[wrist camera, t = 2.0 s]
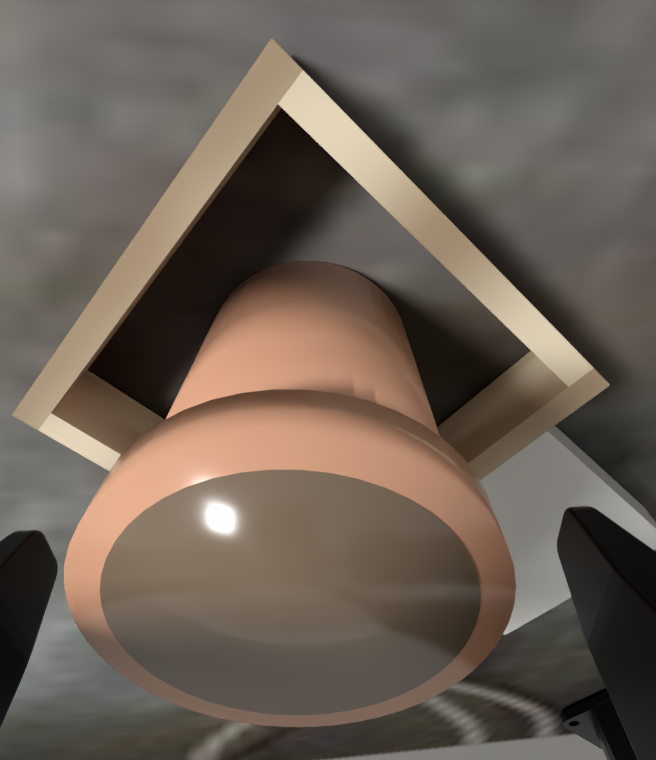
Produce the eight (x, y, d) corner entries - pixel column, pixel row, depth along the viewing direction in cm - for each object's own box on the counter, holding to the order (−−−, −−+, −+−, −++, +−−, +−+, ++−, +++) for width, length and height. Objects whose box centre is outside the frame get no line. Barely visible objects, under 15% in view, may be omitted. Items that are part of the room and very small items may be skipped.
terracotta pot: (469, 349, 14) (609, 604, 7) (319, 479, 16) (314, 765, 9) (294, 190, 12) (249, 330, 5) (151, 366, 14) (-17, 628, 7)
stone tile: (643, 506, 17) (670, 541, 16) (493, 598, 19) (505, 634, 18) (526, 400, 15) (545, 429, 14) (373, 518, 17) (377, 553, 16)
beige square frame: (571, 344, 14) (610, 384, 12) (324, 540, 18) (324, 594, 16) (281, 47, 10) (271, 37, 9) (53, 371, 14) (11, 415, 12)
